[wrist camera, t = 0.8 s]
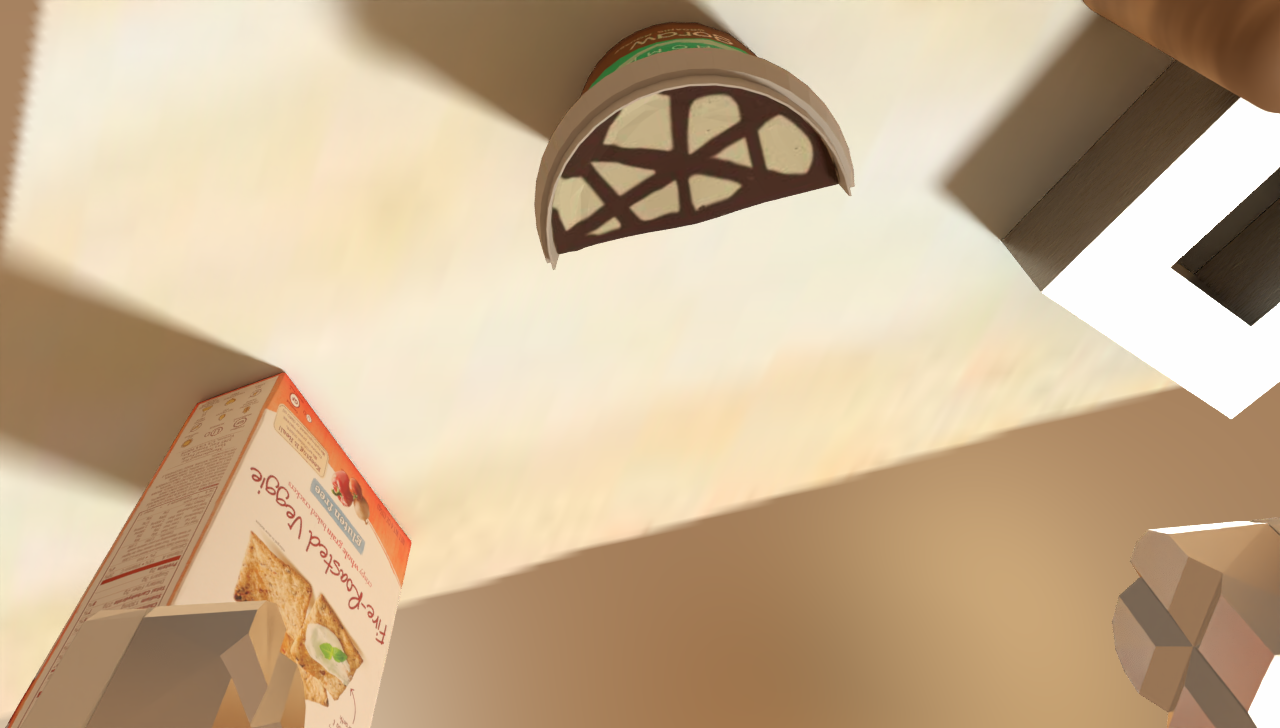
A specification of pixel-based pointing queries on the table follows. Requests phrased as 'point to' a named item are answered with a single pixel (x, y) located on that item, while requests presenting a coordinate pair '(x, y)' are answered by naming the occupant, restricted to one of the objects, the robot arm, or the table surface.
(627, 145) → the food container
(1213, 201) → the socket block
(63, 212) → the table surface
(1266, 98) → the walnut peg
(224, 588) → the cracker box
